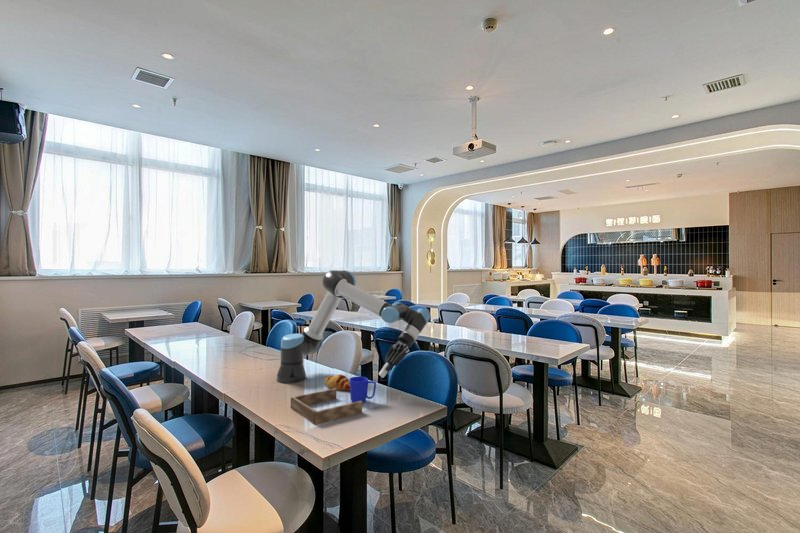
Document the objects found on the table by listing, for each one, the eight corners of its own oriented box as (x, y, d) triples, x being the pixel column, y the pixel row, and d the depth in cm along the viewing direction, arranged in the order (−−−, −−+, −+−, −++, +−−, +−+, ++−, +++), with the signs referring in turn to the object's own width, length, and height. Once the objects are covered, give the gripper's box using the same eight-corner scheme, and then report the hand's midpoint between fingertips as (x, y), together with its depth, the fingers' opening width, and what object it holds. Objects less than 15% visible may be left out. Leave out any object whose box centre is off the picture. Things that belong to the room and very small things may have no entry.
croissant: (320, 390, 196) (314, 378, 193) (334, 378, 202) (329, 366, 200) (347, 399, 181) (341, 386, 179) (361, 385, 188) (355, 372, 186)
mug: (373, 405, 164) (373, 382, 164) (346, 403, 167) (347, 380, 167) (377, 399, 172) (378, 377, 173) (352, 397, 175) (353, 375, 175)
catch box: (335, 398, 173) (335, 388, 174) (362, 412, 156) (362, 401, 156) (290, 407, 160) (290, 397, 160) (314, 424, 143) (315, 412, 143)
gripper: (421, 342, 183) (394, 383, 172) (404, 339, 193) (377, 377, 182) (413, 332, 179) (384, 373, 169) (396, 329, 190) (368, 368, 179)
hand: (380, 375), depth 175 cm, fingers closed
